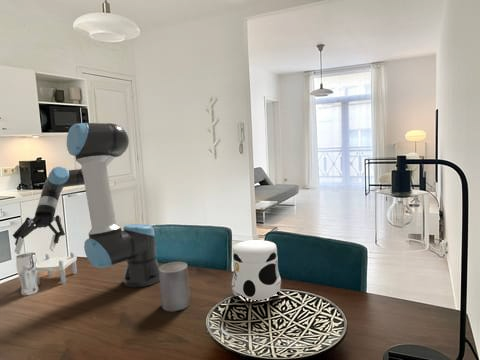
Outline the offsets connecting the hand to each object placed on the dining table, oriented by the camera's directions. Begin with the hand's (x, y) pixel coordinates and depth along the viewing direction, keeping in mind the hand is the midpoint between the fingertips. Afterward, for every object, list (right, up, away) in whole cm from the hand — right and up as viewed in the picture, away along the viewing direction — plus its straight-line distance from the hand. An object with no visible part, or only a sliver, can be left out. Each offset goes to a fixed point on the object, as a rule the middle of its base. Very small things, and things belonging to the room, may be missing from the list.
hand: (34, 251), depth 145 cm
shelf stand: (+6, -13, +7) cm, 16 cm away
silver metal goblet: (+2, -15, -6) cm, 16 cm away
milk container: (+91, -12, -21) cm, 94 cm away
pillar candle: (+63, -14, -24) cm, 69 cm away
